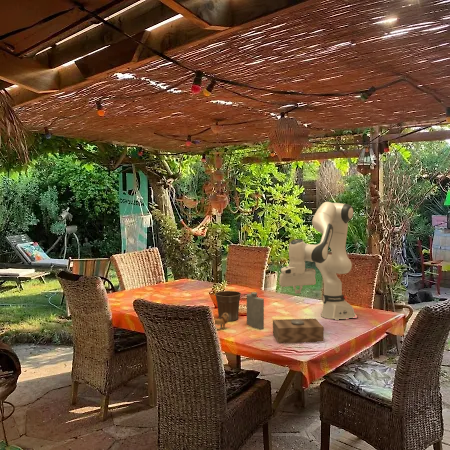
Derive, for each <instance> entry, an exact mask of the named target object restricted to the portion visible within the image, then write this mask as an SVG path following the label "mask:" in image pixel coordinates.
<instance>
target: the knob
mask: <svg viewBox="0 0 450 450" xmlns="http://www.w3.org/2000/svg"><path fill="white" fill-rule="evenodd" d="M291 324H293V325H303V324H304V321H302V320H292V321H291Z"/></svg>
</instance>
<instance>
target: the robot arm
mask: <svg viewBox="0 0 450 450" xmlns="http://www.w3.org/2000/svg"><path fill="white" fill-rule="evenodd" d="M353 217H354V208H353V206H352V205H351V204H348V203H340V202H330V201H325V202H322V203H321V204H320V205H318V208H317V210H316V212H315V213H314V215H313V217H312V220H311V221H312V222H311V224H312V227H313V228H314V229H315V230H316V231H317V232H318V233H320V234H322V236H321V239H320V242H319V243H318V244H317V243H316V244H311V243H306V242H304V240H303V239H293V240H291V241H289V244H288V257H289V262H288V265H287V266H284V267H281V268H280V271H281V273H280V274H279V278H278V279H279V281H278V283H279V286H280V287H282V288H283V287H292V288H293V290H294V294H295V295H297V294H301V293H302V289H303V288H304V287H303V286H314V285H316V283H317V280H316V274H317V273H316V269H315V268H312V267H310V268H306V262H312V263H315V267H316V268H317V269H318V270H319V272H320V274H321V277H322V281H323V293H322V305H323V306H322V309H321V314H320V316H321V317H322V318H324V319H329V320H333V319H335V320H334V321H340V320H339V319H346V318H353V317H355V315H356V313H355V309H354V307H353V306H352V305H351V304H350V303H349V302H347V300H348V296H347V295H344V294H342V293H343V291H342V290H343V283H342V281H341V279H340V278H339V277H338V275H337V274H339V275H342V274H343V275H345V274H348V273H350V272H351V270H352V267H353V266H352V265H353V264H352V260H351V259H350V257H348V253H347V249H346V245H347V236H348V230H349V227H348V225H349V222H350V221H351V220H352V218H353ZM329 248H330V250H331V254H329ZM298 286H299V288H298V289H297V287H298ZM346 320H347V319H346Z"/></svg>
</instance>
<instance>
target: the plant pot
mask: <svg viewBox="0 0 450 450" xmlns="http://www.w3.org/2000/svg"><path fill="white" fill-rule="evenodd" d="M241 295H242V292H240V291H236V290H223V291H217V292H215V294H214V296H215V299H216V300H215V301H216V305H217V316H218V319H219V318H221V316H222V314H223V313H228V315H229V319H228V322H233V321H236V320H237V321H238V319H239V313H240V312H239V309H240V300H241Z"/></svg>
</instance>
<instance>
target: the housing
mask: <svg viewBox="0 0 450 450" xmlns="http://www.w3.org/2000/svg"><path fill="white" fill-rule="evenodd" d="M292 320H302V321H304V324H303V325H293V324H291V321H292ZM324 331H325V327H324V325H322V324H321V323H320V321H318V319H316V318H295V319H294V318H292V319H287V318H285V319H272V335H273V337H274V338H275V340H276V342H277V344H295V343H296V344H298V343H301V344H303V343H304V342H306V343H318V342H317V341H324V338H325V337H324V335H325V334H324V333H325V332H324Z"/></svg>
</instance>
